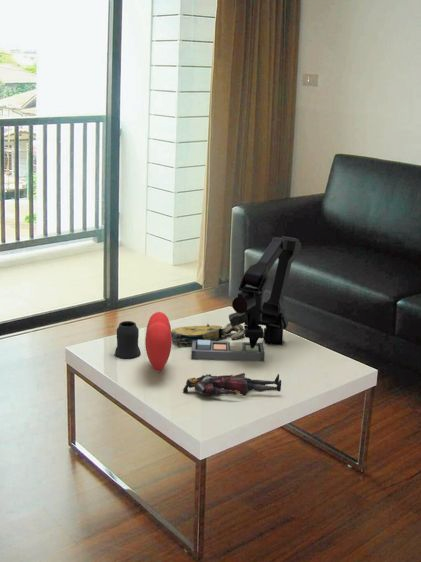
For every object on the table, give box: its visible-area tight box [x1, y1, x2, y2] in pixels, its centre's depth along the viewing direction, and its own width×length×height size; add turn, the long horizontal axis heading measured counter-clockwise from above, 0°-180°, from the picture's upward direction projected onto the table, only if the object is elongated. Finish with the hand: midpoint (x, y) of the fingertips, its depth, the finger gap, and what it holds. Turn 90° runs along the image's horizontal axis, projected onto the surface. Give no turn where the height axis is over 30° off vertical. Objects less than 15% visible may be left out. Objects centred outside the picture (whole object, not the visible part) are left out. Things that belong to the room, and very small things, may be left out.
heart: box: [144, 311, 173, 373], centre depth 241 cm, size 20×9×19 cm, turn 3°
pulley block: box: [171, 322, 245, 345], centre depth 272 cm, size 14×6×30 cm
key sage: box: [245, 345, 259, 352], centre depth 258 cm, size 4×4×2 cm
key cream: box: [229, 340, 243, 351], centre depth 258 cm, size 4×4×2 cm
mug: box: [114, 320, 142, 360], centre depth 257 cm, size 12×9×11 cm
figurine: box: [182, 372, 282, 397], centre depth 230 cm, size 13×6×30 cm
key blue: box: [197, 340, 210, 350], centre depth 258 cm, size 4×4×2 cm
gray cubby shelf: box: [190, 340, 266, 363], centre depth 259 cm, size 25×10×3 cm, turn 89°
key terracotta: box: [213, 344, 226, 351], centre depth 259 cm, size 4×4×2 cm
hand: (252, 347), depth 258 cm, fingers closed, pressing on key sage
